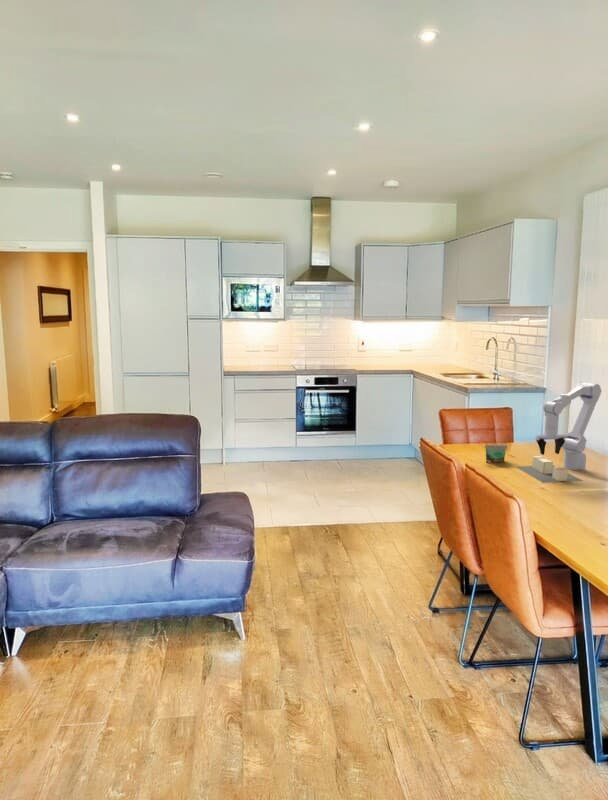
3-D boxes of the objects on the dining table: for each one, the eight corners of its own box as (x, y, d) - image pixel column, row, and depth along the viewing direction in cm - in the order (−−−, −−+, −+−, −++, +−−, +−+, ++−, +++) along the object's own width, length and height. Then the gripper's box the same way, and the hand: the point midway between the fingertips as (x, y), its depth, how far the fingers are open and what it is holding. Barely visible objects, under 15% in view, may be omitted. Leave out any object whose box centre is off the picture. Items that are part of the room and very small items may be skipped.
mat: (552, 466, 280) (552, 465, 280) (583, 482, 254) (583, 481, 254) (515, 468, 278) (515, 466, 277) (542, 484, 252) (542, 482, 252)
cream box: (540, 466, 277) (540, 456, 276) (552, 473, 266) (553, 462, 265) (531, 467, 276) (532, 456, 275) (543, 473, 266) (544, 462, 265)
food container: (490, 466, 281) (491, 447, 280) (483, 462, 287) (484, 444, 286) (511, 464, 285) (512, 445, 283) (504, 460, 290) (505, 442, 289)
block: (560, 477, 259) (561, 466, 258) (566, 480, 254) (567, 469, 253) (552, 477, 258) (552, 466, 258) (558, 481, 254) (558, 469, 253)
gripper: (542, 428, 260) (540, 456, 262) (570, 427, 262) (568, 455, 264) (534, 425, 267) (532, 452, 269) (561, 424, 269) (559, 451, 271)
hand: (549, 453), depth 267 cm, fingers open, 7 cm apart
